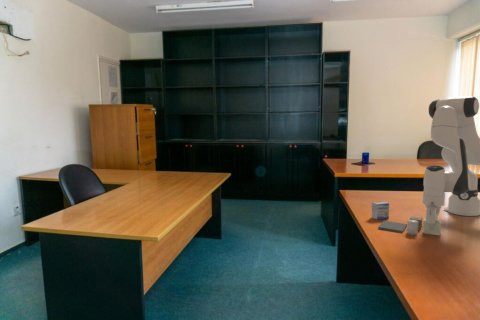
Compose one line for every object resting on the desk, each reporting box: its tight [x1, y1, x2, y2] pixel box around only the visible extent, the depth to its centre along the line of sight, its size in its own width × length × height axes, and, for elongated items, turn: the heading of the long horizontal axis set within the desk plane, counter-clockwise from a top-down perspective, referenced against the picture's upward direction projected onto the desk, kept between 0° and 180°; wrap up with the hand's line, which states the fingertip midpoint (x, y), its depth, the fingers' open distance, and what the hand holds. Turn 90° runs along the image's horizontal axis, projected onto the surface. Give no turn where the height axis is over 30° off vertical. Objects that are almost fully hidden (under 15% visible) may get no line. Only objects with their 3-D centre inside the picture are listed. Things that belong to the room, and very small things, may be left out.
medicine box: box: [371, 201, 390, 221], centre depth 179 cm, size 8×4×9 cm, turn 105°
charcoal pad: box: [378, 220, 408, 234], centre depth 164 cm, size 12×11×1 cm
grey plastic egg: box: [406, 219, 419, 236], centre depth 155 cm, size 4×4×6 cm
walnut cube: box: [409, 215, 424, 231], centre depth 163 cm, size 5×5×5 cm
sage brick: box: [422, 218, 442, 237], centre depth 155 cm, size 4×7×6 cm, turn 54°
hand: (432, 228), depth 155 cm, fingers closed on sage brick, 4 cm apart
